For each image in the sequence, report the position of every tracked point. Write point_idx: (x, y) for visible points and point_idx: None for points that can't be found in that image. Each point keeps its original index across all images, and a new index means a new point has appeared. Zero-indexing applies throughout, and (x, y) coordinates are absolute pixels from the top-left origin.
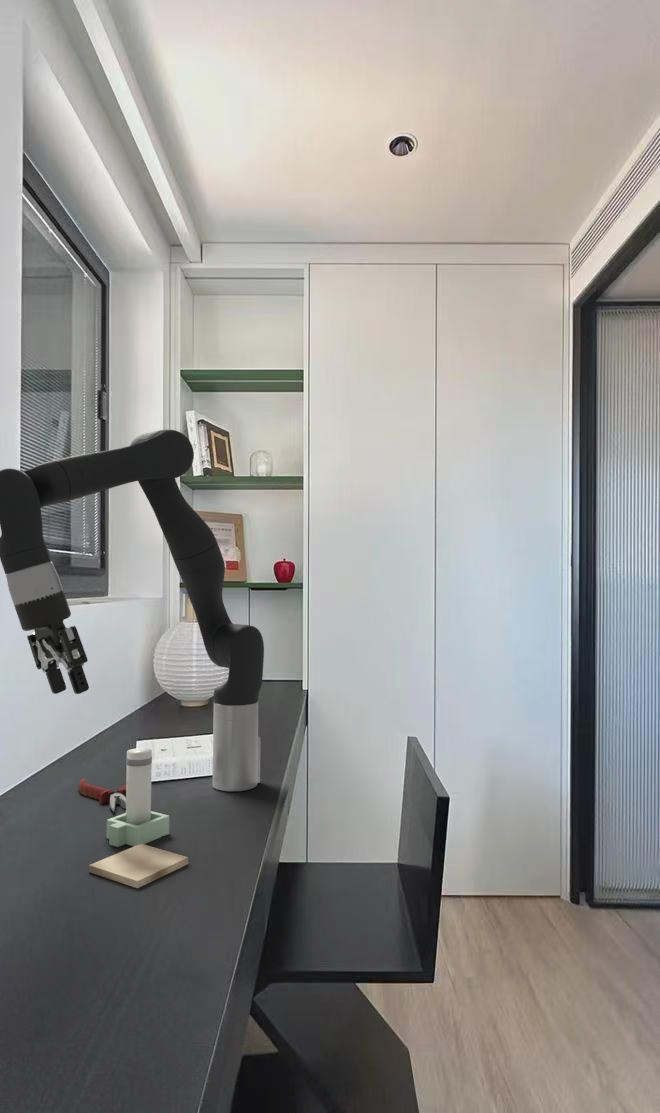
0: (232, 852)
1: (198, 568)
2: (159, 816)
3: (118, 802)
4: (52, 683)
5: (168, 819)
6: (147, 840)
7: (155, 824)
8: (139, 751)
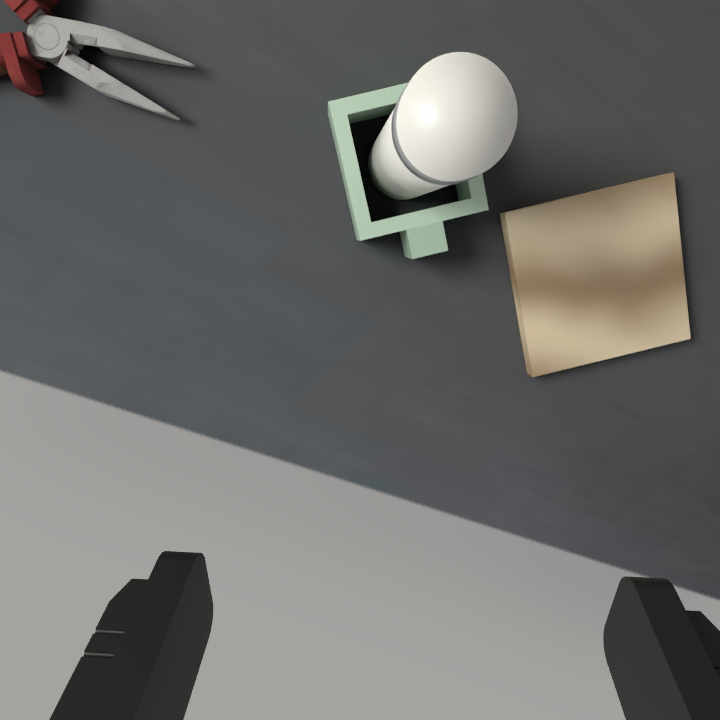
0: (693, 32)
1: None
2: None
3: (79, 46)
4: (186, 698)
5: None
6: None
7: None
8: (466, 121)
